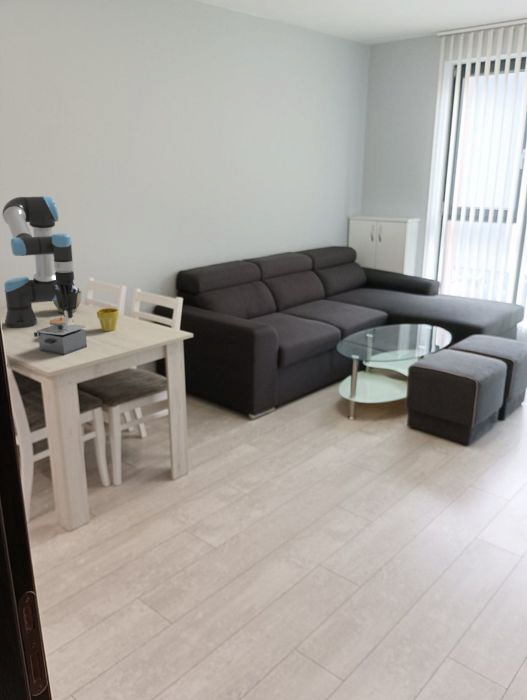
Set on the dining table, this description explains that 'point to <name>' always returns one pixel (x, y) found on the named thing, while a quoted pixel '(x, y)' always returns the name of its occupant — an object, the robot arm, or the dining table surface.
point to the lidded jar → (58, 321)
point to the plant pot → (108, 318)
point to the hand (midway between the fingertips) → (69, 324)
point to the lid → (60, 329)
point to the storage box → (62, 342)
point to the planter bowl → (76, 304)
